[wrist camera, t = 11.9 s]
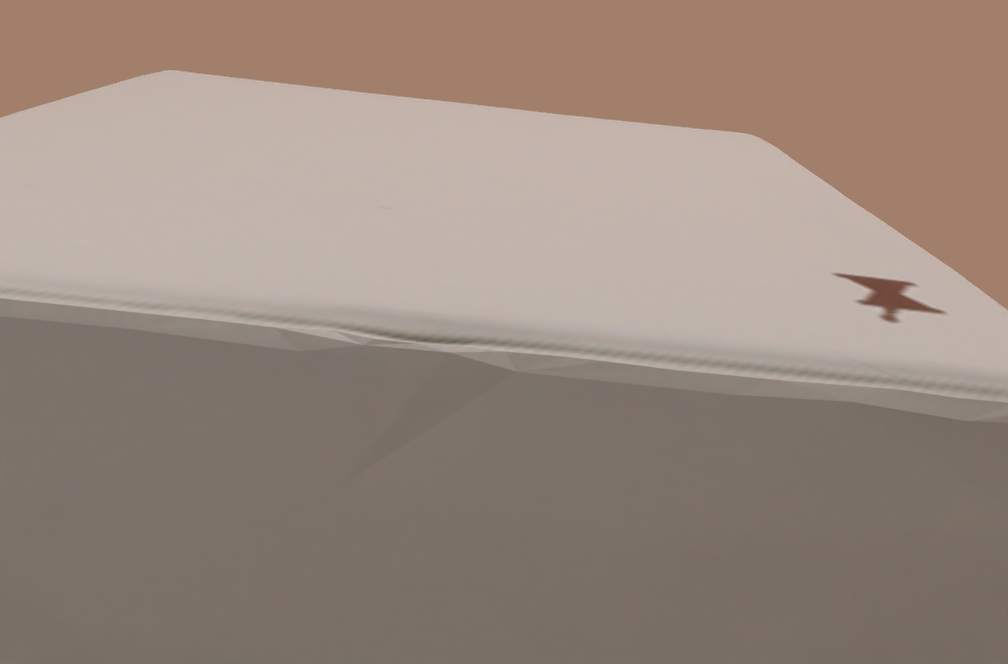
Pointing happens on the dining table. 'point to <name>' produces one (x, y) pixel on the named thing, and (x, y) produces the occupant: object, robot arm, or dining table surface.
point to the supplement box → (476, 394)
